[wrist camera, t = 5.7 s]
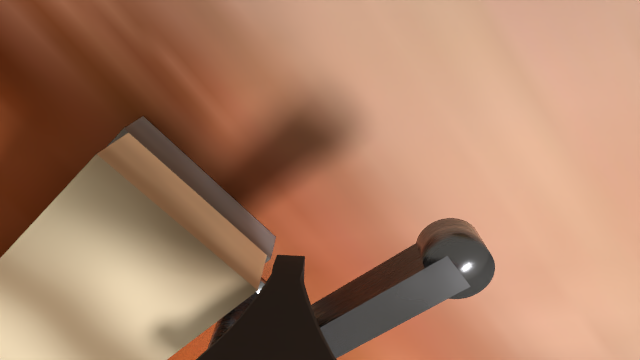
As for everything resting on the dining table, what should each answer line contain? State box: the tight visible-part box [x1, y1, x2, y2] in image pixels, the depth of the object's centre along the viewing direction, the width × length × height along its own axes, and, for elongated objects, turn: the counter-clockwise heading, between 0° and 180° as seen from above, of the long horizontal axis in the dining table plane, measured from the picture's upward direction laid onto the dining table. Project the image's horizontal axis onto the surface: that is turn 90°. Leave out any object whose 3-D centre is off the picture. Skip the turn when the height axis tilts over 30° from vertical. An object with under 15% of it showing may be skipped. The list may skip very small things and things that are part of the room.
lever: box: [208, 218, 495, 358], centre depth 14 cm, size 10×2×5 cm, turn 127°
